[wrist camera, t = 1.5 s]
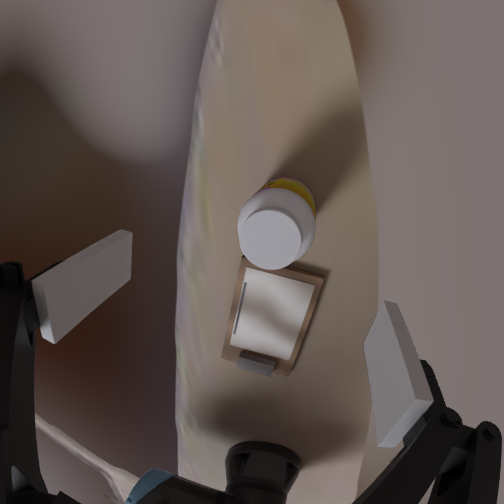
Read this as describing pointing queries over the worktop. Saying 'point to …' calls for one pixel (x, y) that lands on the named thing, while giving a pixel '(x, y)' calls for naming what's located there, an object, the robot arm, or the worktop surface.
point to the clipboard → (269, 317)
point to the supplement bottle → (277, 224)
